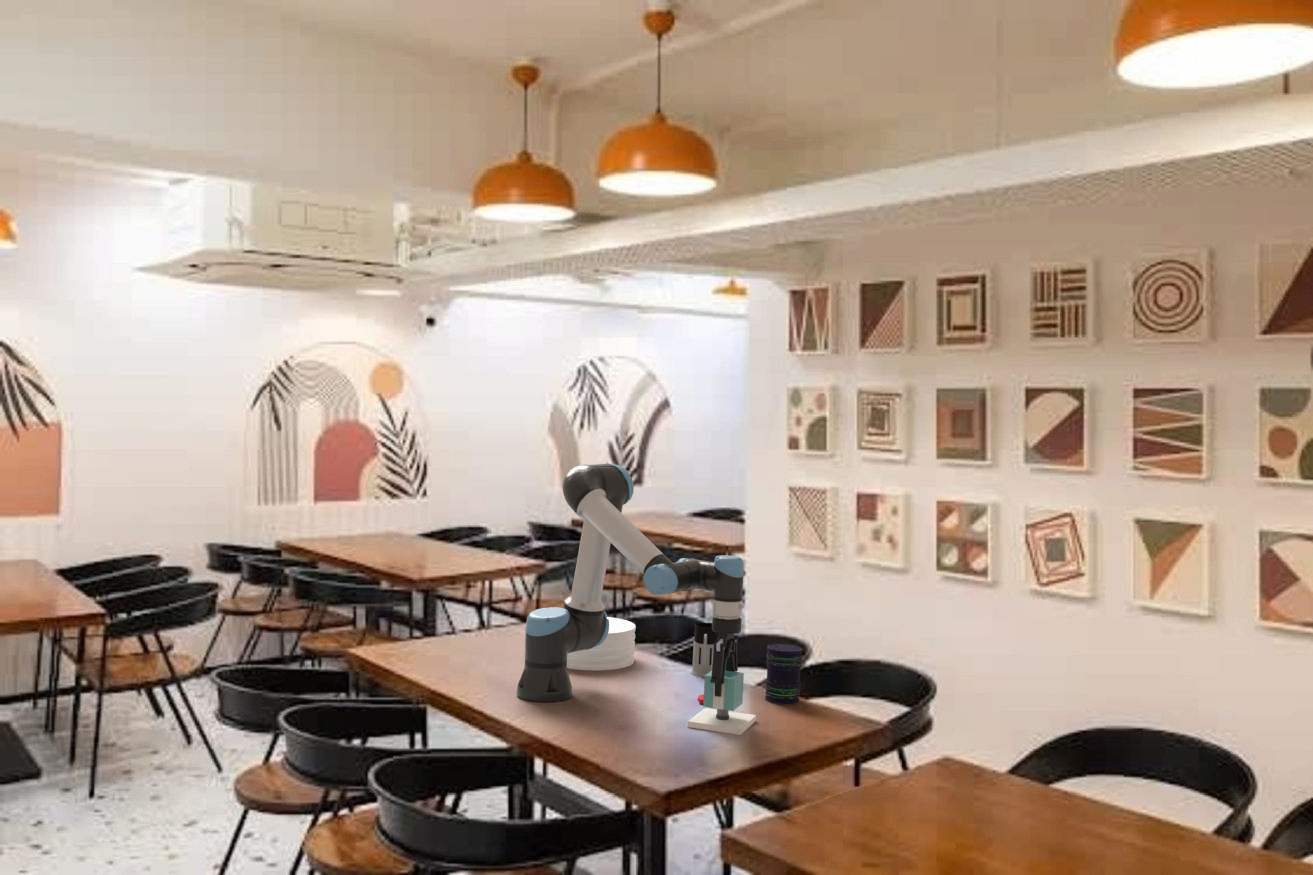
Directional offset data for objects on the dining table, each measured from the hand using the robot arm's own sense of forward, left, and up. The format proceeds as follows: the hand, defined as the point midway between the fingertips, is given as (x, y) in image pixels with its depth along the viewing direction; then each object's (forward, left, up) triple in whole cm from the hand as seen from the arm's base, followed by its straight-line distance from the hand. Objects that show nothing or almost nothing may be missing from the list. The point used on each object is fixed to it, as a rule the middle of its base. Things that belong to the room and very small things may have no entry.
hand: (723, 704), depth 277 cm
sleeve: (0, 0, 0) cm, 0 cm away
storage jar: (+8, +31, -5) cm, 32 cm away
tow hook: (-9, +20, -5) cm, 23 cm away
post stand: (0, 0, -5) cm, 5 cm away
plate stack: (-59, +47, -6) cm, 76 cm away
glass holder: (-20, +46, -5) cm, 50 cm away
